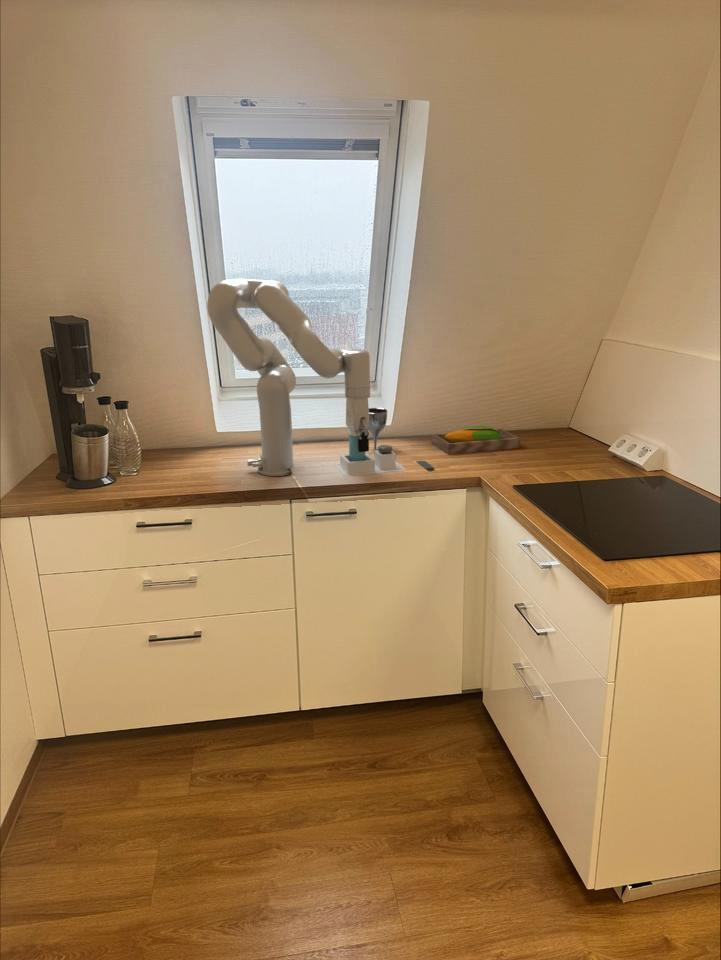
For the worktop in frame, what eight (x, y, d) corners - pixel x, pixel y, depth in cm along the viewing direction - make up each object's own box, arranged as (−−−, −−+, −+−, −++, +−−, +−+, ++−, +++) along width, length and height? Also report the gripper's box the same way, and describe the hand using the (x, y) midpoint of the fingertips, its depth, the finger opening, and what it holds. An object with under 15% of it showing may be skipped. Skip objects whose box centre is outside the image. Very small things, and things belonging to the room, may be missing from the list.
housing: (343, 481, 200) (343, 461, 198) (333, 469, 211) (333, 451, 209) (406, 474, 205) (406, 456, 203) (393, 463, 216) (393, 446, 214)
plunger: (380, 467, 206) (380, 449, 204) (376, 463, 210) (376, 445, 208) (393, 466, 207) (394, 448, 206) (389, 462, 211) (389, 444, 210)
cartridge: (351, 472, 203) (351, 432, 199) (346, 466, 208) (346, 427, 204) (368, 470, 205) (368, 430, 201) (363, 465, 210) (363, 426, 206)
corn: (504, 428, 230) (445, 427, 231) (502, 449, 232) (444, 449, 233) (500, 424, 237) (444, 423, 238) (499, 445, 239) (443, 444, 240)
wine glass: (377, 458, 222) (378, 414, 217) (358, 454, 227) (358, 411, 222) (391, 453, 228) (392, 409, 223) (372, 449, 233) (372, 406, 228)
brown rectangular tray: (447, 454, 226) (448, 444, 225) (431, 443, 240) (431, 434, 238) (519, 447, 234) (520, 438, 233) (500, 437, 247) (500, 428, 246)
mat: (410, 472, 208) (410, 469, 208) (401, 465, 215) (401, 462, 215) (434, 470, 210) (434, 467, 210) (424, 462, 217) (424, 460, 217)
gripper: (337, 388, 206) (339, 441, 211) (353, 398, 190) (355, 456, 195) (361, 386, 208) (362, 439, 213) (378, 396, 192) (379, 453, 197)
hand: (358, 447), depth 204 cm, fingers open, 9 cm apart
